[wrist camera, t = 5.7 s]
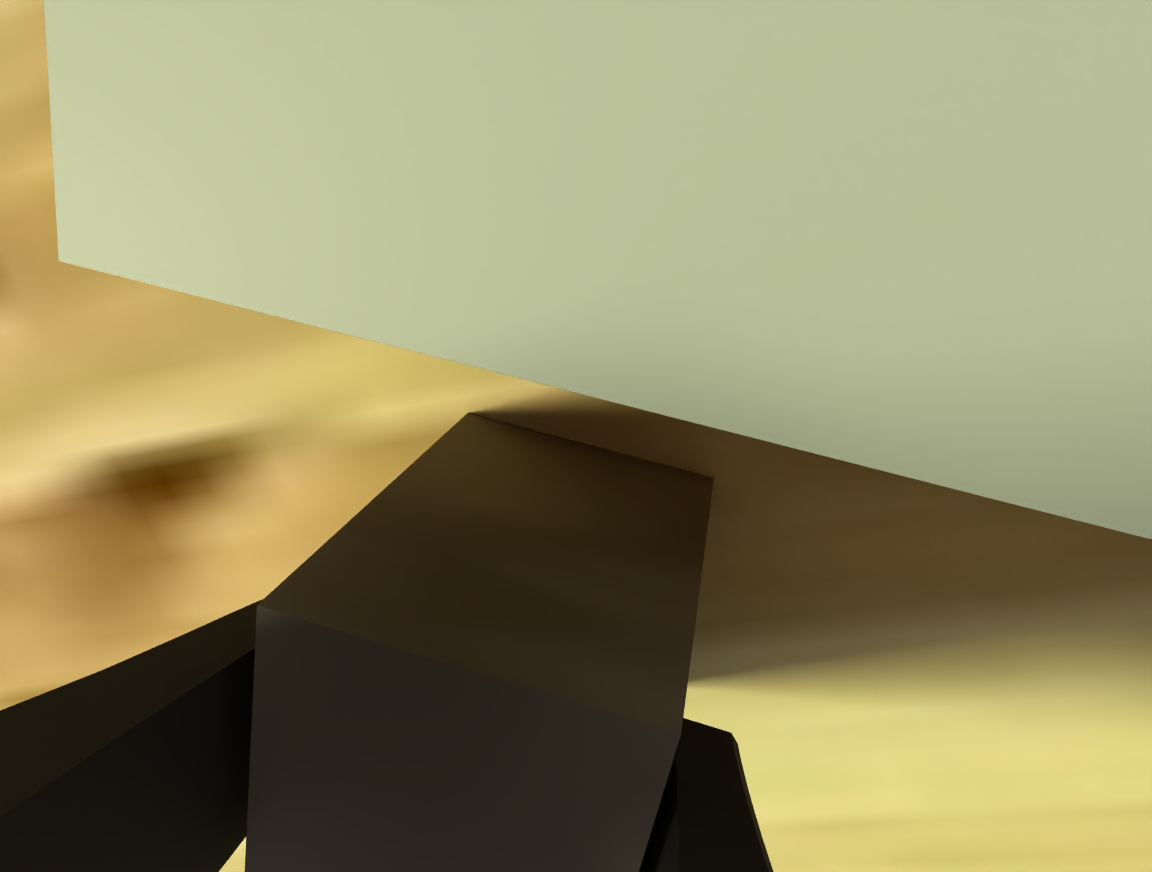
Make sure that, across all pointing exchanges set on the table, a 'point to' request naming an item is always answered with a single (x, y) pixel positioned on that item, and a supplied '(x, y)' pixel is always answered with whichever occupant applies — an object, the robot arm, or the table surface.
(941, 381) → the lid
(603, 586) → the dark brown block
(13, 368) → the table surface
